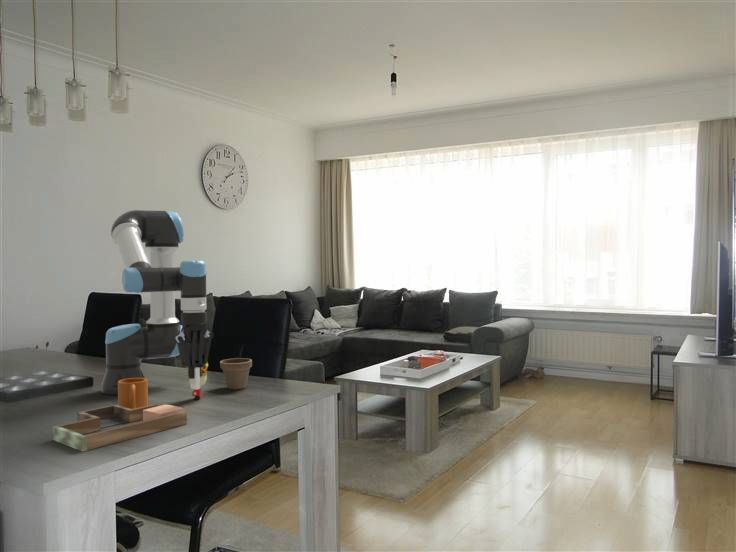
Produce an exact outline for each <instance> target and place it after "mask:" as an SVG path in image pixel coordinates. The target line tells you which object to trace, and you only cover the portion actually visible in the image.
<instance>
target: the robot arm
mask: <svg viewBox="0 0 736 552" xmlns="http://www.w3.org/2000/svg"><path fill="white" fill-rule="evenodd" d="M110 233H111V234H110V235H111V239H112V240H113V243H114V244H115V245H116V246H117V248H118V249H119V252H120V256H121V258H122V261H123V264H124V267H125V268H123V270H122V273H121V284H122V289H123V291H125V293H134V294H139V293H150V295H149V296H150V297H149V298H150V300H149V301H150V305H149V306H150V307H149V308H150V309H149V310H150V317H149V318H148V319H147V320H146V323H145V324H146V326H145V327H142V326H141V324H139V323H129V324H121V325H118V326H113V327H111V328H108V330H107V331H106V332H105V341H104V343H105V365H106V366H105V374H104V376H103V379H102V383H101V386H100V392H101V393H102V394H104V395H111V396H112V395H113V396H114V395H116V396H118V381H119V380H123V379H128V378H146V377H145V374H144V371H143V369H142V361H143V360H151V359H152V360H153V359H163V358H165V359H169V358H174V357H178V356H179V359H180V361H181V365H182V367H185V368H186V367H188V370H187V378H188V377H189V378H190V384H189V385H190V389H191V390H197V389H200V388H201V387H200V377H201V376H202V374H201V373H202V369H201V368H202V367H203V368H205V364H207V363H208V360H209V355H210V350H211V344H212V343H211V342H212V339H213V337H214V332H212V331H211V332H210V331H209V330H208V328H207V323H208V314H207V311H206V310H207V308H208V307H207V274H208V273H207V267H206V262H205V261H204V260H182V261H181V262H180V266H179V267H176V266H175V252H176V251H177V250H178V249H179V244H181V243H183V242H184V235H185V234H184V227H183V221H182V219H181V216H180V214H179V213H177V212H176V211H169V210H139V209H135V210H134V209H133V210H129V211H126V212H125V213H122V214H120V216H118V217H117V218H116V219H115V220H114V221H113V224H112V226H111V230H110ZM147 251H148V252H149V256H148V254H147ZM176 292H180V310H181V311H182V312H181V314H180V320H179V319H178V317H176V302H175V301H176Z"/></svg>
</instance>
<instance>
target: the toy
mask: <svg viewBox="0 0 736 552" xmlns="http://www.w3.org/2000/svg"><path fill="white" fill-rule="evenodd" d="M208 367H209V363H208V362H207V364H204V367H202V368H201V369H202V373H201V374H202V376H201V377H200V389H197V390H195V389H193V391H192V395H191V396H192V397H194V398H193V400H195V401H199V400H200V399H201V396H203V393H202V388H201V387H203V386H204V385H205V383H207V379H208V376H207V375H208V371H207V370H208ZM185 368H186V370H187V371H188V367H185ZM187 382H188V384H189V385H190V378H189V377H188V376H187Z"/></svg>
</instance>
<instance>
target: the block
mask: <svg viewBox="0 0 736 552" xmlns="http://www.w3.org/2000/svg"><path fill="white" fill-rule="evenodd" d="M183 411H185V410H184V407H180V406H176V405H171V404H162V405H158V406H157V407H153V408H149V409H145V410H143V420H142V421H146V420H150V419H154V418H158V417H163V416H167V415H171V414H175V413H179V412H183Z"/></svg>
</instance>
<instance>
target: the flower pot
mask: <svg viewBox="0 0 736 552" xmlns="http://www.w3.org/2000/svg"><path fill="white" fill-rule="evenodd" d="M219 366H220V367H219V368H220V369H221V370H222V372H223V377H224V380H225V383H226V386H227V388H228V390H241V389H245V388H246V387H247V384H248V380H249V373H250V370H251V368H252V367H253V359H251V358H247V357H246V358H245V357H244V358H243V357H239V358H238V357H236V358H228V359H222V360H220V361H219Z"/></svg>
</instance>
